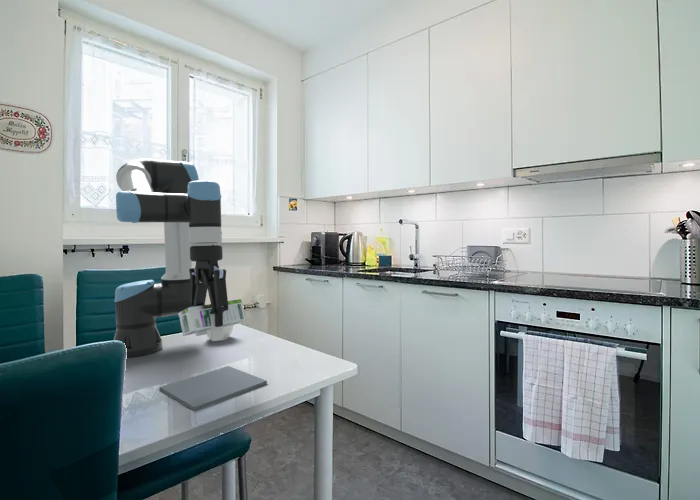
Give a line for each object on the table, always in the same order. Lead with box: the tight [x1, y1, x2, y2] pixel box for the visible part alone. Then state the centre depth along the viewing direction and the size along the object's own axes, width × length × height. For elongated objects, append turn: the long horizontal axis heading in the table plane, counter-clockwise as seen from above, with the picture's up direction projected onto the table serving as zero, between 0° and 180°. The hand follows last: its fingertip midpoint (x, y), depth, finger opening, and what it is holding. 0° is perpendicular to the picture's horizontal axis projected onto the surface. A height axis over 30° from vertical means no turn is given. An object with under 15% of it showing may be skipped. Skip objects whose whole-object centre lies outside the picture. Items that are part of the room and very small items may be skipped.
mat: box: [159, 365, 268, 412], centre depth 94 cm, size 18×19×1 cm
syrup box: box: [177, 298, 247, 337], centre depth 94 cm, size 6×6×14 cm
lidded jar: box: [205, 325, 234, 342], centre depth 140 cm, size 11×11×9 cm
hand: (209, 337), depth 93 cm, fingers closed on syrup box, 7 cm apart
